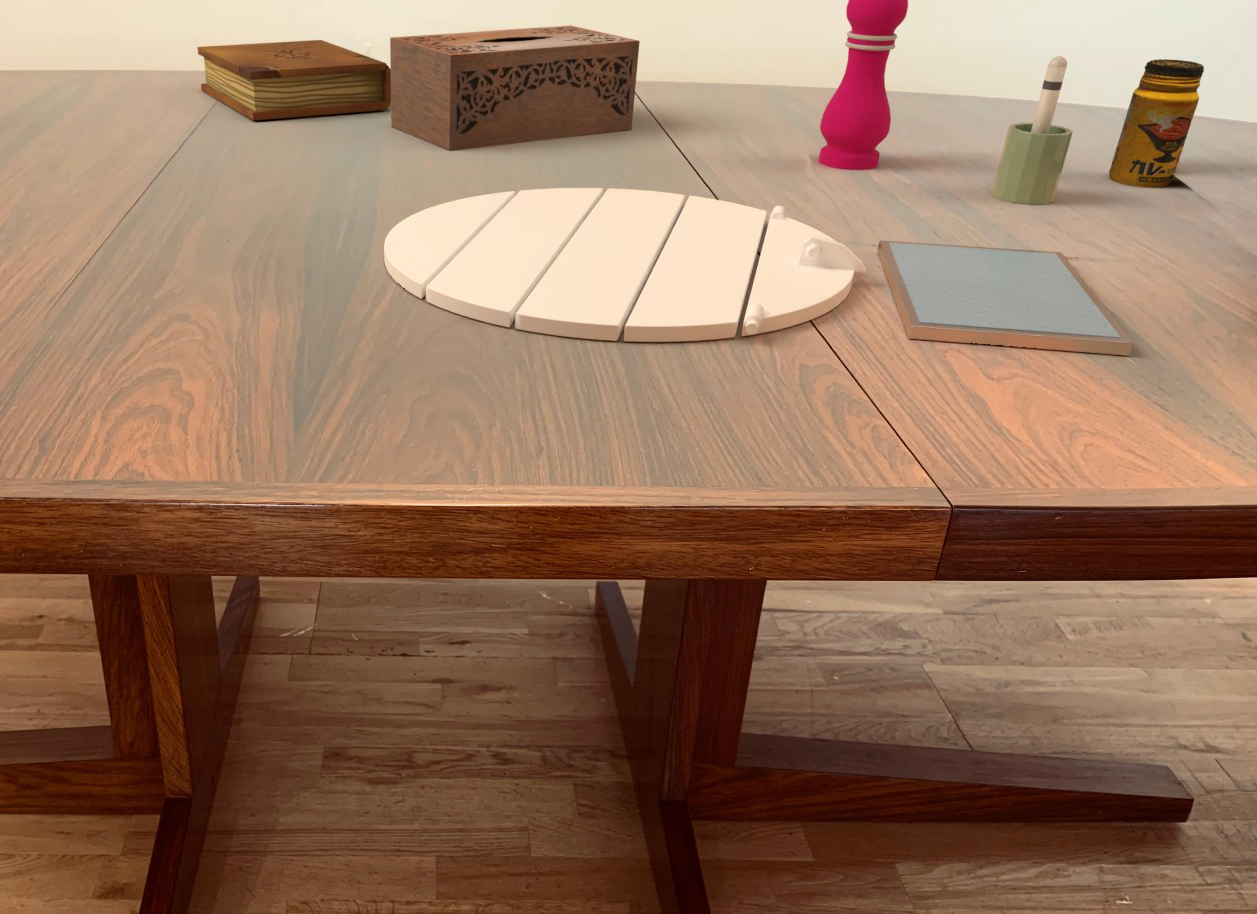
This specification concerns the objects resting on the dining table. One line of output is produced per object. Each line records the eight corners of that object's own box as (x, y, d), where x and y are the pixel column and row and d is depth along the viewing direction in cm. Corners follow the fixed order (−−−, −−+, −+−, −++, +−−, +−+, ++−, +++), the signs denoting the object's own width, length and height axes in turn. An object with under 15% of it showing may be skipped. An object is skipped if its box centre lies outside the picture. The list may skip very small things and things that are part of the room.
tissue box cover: (449, 150, 136) (450, 55, 131) (391, 126, 147) (390, 37, 141) (631, 129, 147) (639, 40, 142) (565, 108, 157) (570, 25, 152)
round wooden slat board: (863, 221, 113) (870, 184, 111) (862, 371, 81) (872, 322, 79) (457, 186, 122) (457, 151, 121) (314, 307, 91) (312, 262, 89)
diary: (392, 110, 155) (391, 62, 152) (253, 122, 148) (250, 72, 145) (328, 81, 172) (326, 37, 169) (201, 90, 165) (197, 45, 162)
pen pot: (1044, 196, 122) (1064, 124, 118) (1057, 211, 117) (1078, 136, 113) (986, 193, 123) (1004, 121, 119) (996, 207, 118) (1016, 133, 114)
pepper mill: (811, 171, 130) (846, -36, 119) (815, 157, 135) (849, -42, 125) (880, 177, 128) (923, -33, 117) (882, 163, 133) (922, -39, 123)
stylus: (1029, 195, 120) (1067, 55, 113) (1032, 199, 119) (1071, 58, 112) (1012, 194, 120) (1048, 54, 113) (1015, 198, 119) (1052, 57, 112)
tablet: (1058, 263, 103) (1062, 251, 102) (1129, 356, 84) (1134, 342, 84) (877, 251, 105) (879, 239, 104) (908, 339, 87) (911, 324, 86)
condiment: (1158, 197, 122) (1199, 70, 116) (1074, 181, 127) (1109, 59, 121) (1184, 185, 126) (1225, 63, 120) (1103, 171, 132) (1138, 52, 125)
